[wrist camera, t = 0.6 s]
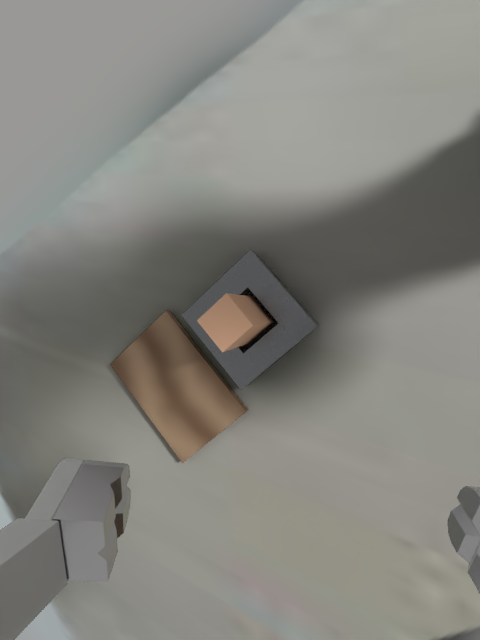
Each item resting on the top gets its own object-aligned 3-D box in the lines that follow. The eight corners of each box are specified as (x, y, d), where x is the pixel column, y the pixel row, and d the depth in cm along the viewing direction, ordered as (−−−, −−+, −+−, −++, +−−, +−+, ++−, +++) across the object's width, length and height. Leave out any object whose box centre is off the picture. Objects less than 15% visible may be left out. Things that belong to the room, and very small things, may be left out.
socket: (255, 252, 44) (250, 249, 42) (319, 325, 42) (317, 326, 40) (189, 314, 47) (181, 315, 44) (246, 385, 45) (240, 390, 43)
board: (169, 310, 48) (165, 310, 47) (247, 409, 45) (245, 411, 44) (114, 363, 50) (110, 364, 49) (185, 460, 48) (182, 463, 47)
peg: (252, 296, 45) (226, 293, 35) (274, 321, 44) (253, 325, 34) (229, 318, 45) (196, 320, 36) (249, 343, 45) (222, 352, 35)
